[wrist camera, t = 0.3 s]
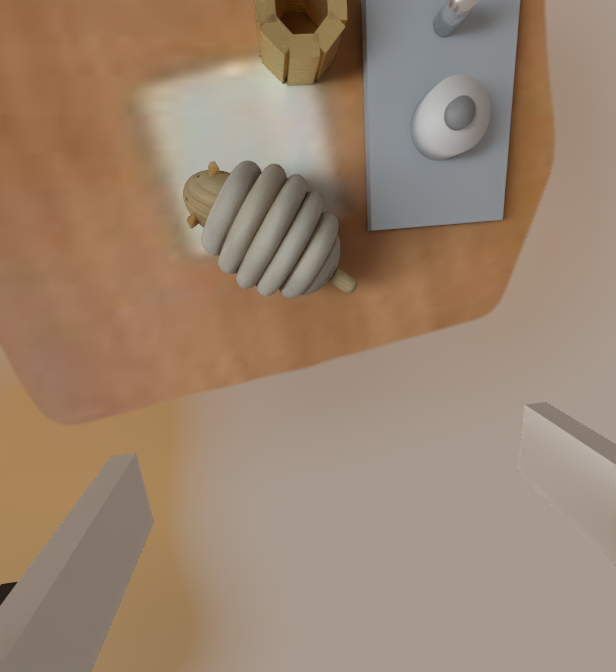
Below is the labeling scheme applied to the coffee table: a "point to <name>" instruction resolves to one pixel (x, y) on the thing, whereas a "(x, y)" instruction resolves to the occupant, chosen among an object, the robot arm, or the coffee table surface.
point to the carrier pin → (451, 16)
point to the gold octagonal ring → (299, 38)
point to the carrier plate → (406, 83)
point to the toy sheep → (266, 229)
